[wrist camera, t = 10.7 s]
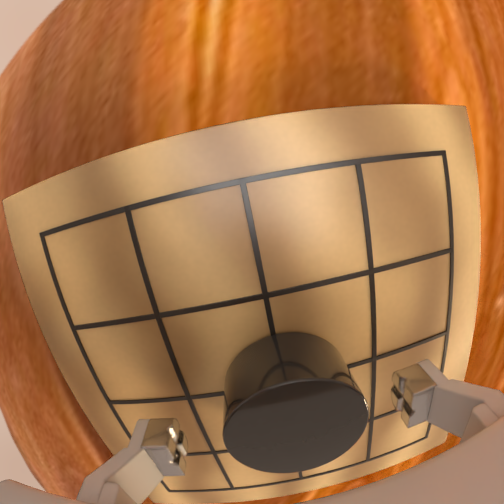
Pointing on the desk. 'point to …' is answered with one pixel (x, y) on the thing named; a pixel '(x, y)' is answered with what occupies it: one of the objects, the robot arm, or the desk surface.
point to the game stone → (291, 404)
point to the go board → (257, 274)
